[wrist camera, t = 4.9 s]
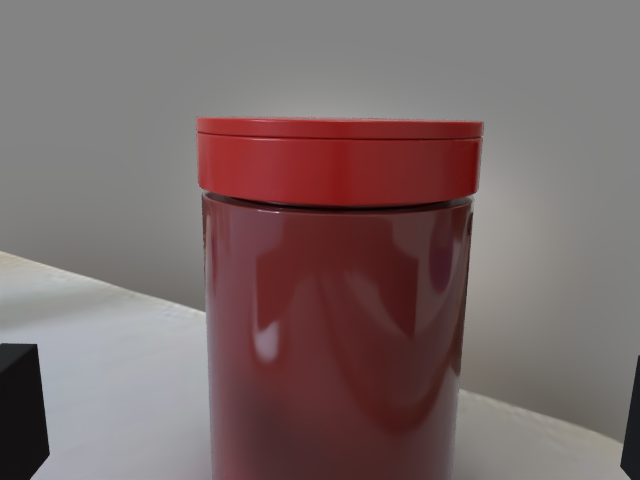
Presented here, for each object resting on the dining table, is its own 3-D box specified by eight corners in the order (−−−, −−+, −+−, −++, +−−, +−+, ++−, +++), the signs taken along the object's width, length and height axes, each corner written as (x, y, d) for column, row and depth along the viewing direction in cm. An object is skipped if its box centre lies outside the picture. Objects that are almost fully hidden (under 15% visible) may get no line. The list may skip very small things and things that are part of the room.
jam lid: (513, 181, 17) (519, 121, 17) (411, 220, 11) (416, 122, 10) (302, 165, 22) (303, 117, 21) (136, 185, 15) (131, 115, 14)
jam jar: (480, 458, 20) (511, 137, 17) (383, 628, 13) (408, 148, 10) (301, 395, 24) (304, 129, 21) (160, 499, 17) (137, 134, 15)
